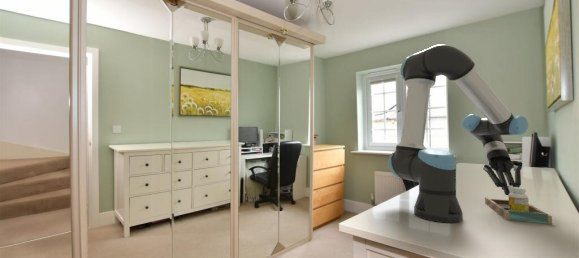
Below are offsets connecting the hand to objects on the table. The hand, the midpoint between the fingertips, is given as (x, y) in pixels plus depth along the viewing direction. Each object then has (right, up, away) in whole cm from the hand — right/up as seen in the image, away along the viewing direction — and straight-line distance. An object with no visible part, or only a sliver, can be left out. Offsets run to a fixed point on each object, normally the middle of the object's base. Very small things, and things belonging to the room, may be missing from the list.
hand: (514, 202), depth 96 cm
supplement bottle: (-2, -4, -3) cm, 5 cm away
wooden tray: (-1, -4, -1) cm, 4 cm away
